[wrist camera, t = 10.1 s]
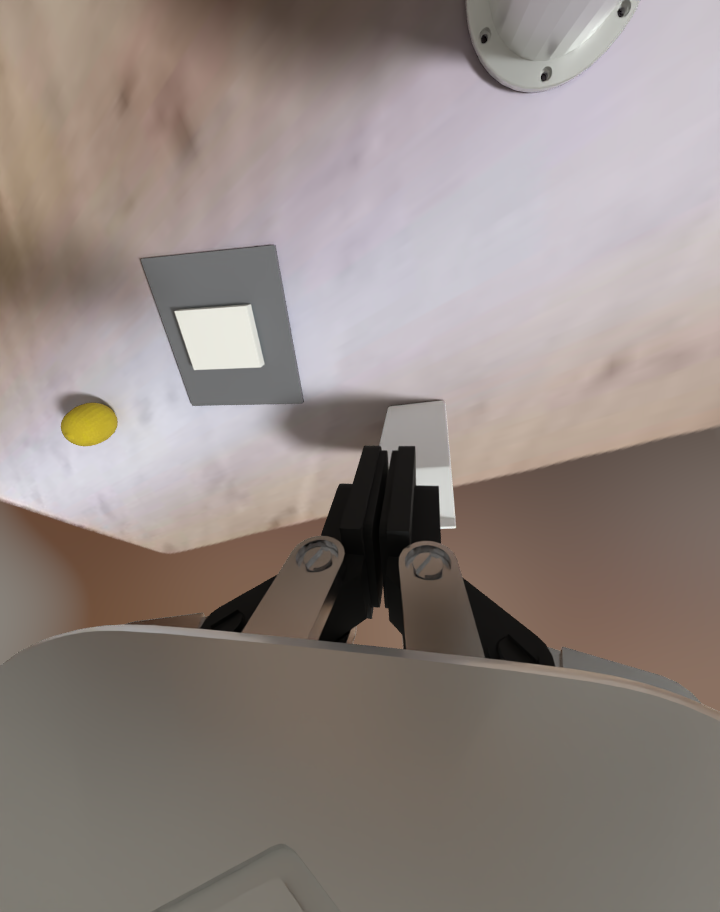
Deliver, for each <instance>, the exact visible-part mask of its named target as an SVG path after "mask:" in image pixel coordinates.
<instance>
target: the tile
mask: <svg viewBox="0 0 720 912" xmlns="http://www.w3.org/2000/svg"><path fill="white" fill-rule="evenodd" d="M174 312H175V315H176V318H177V321H178V324H179V327H180V330H181V333H182V336H183V339H184V342H185V345H186V348H187V351H188V354H189V357H190V360H191V363H192V366H193V369H194V370H208V369H234V368H259V367H262V366H263V365H264V359H263V355H262V351H261V346H260V342H259V338H258V333H257V329H256V324H255V320H254V316H253V311H252V307H251V304H245V305H231V306H217V307H204V308H190V309H179V310H176V311H174Z"/></svg>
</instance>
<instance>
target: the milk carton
mask: <svg viewBox="0 0 720 912" xmlns="http://www.w3.org/2000/svg"><path fill="white" fill-rule="evenodd" d="M379 446H381V448H382V450H387V452H388V466H389V465H390V459H391V453H392V450H398V447H399V446H415V449H416V485H424V486H439V504H440V529H442V528H456V521H455V509H454V498H453V485H452V473H451V461H450V450H449V439H448V427H447V416H446V404H445V401H433V402H424V403H415V404H406V405H398V406H390V407H388V410H387V414H386V419H385V423H384V427H383V432H382V436H381V440H380V445H379Z"/></svg>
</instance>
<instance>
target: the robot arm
mask: <svg viewBox="0 0 720 912" xmlns="http://www.w3.org/2000/svg"><path fill="white" fill-rule="evenodd" d="M639 2H640V0H466V14H467V24H468V29H469V33H470V37H471V41H472V45H473V47H474V49H475V51H476V54H477V56H478V58H479V60H480V62H481V63H482V65H483V66H484V67H485V69H486V70H487V71H488V73H489V74H490V75H491V76H492V77H493V78H495V79H496V80H497V81H498V82H499V83H501V84H502V85H504V86H507V87H509V88H511V89H513V90H516V91H523V92H529V93H531V92H540V91H547V90H550V89H553V88H556V87H559V86H562V85H563V84H565V83H567V82H569V81H571V80H572V79H574V78H576V77H578V76H579V75H580V74H581V73H583V72H584V71H585V70H586V69H588V68H589V67H590V66H591V65H593V64H594V63H595V62H596V61H597V60H598V59H599V58H600V57H601V56H602V55H603V54H604V53H605V52H606V51H607V50H608V49H609V47H610V46H611V45H612V44H613V42H614V41H615V40H616V39H617V38H618V36H619V35H620V34H621V33H622V31H623V30H624V28H625V27H626V25H627V24H628V22H629V21H630V19H631V17H632V16H633V14H634V12H635V11H636V9H637V7H638V5H639ZM618 10H621V11H622V17H621V18H620V17H619V16H618V15H617V11H618ZM483 36H486V37H487V42H486V43H485V44H483V43H482V42H481V38H482V37H483ZM542 74H545V75H546V81H541V75H542ZM382 589H384V601H385V608H389V620H390V622H391V623H392V624H393V625H394V626H395V627H396V628H397V629H398V630H399V632H400V633H401V634H402V639H403V649H395V648H385V647H376V646H366V645H357V644H353V641H354V638H355V634H356V626H357V625H358V624H359V623H361V622H362V621H364V620H365V619H366V618H369V619H372V613H373V607H380V604H381V596H382ZM0 912H720V712H719V711H717V710H714V709H712V708H710V707H707V706H705V705H703V704H701V703H700V701H698V699H697V698H696V697H695V696H694V695H693V694H692V693H691V692H690V691H688V690H687V689H685V688H684V687H683V686H681V685H680V684H679V683H677V682H675V681H673V680H670V679H668V678H666V677H663V676H660V675H657V674H654V673H650V672H647V671H644V670H640V669H637V668H633V667H630V666H626V665H623V664H620V663H617V662H613V661H609V660H606V659H603V658H599V657H596V656H592V655H589V654H586V653H582V652H579V651H576V650H572V649H569V648H565V647H562V649H561V651H559V650H555V649H552V648H549V647H547V646H546V644H545V643H544V642H543V641H542V640H541V639H540V638H538V636H536V635H535V634H534V633H532V632H531V631H530V630H529V629H527V628H526V627H525V626H524V625H522V624H521V623H520V622H519V621H517V620H516V619H515V618H513V617H512V616H511V615H510V614H508V613H507V612H506V611H504V610H503V609H502V608H501V607H499V606H498V605H497V604H496V603H494V602H493V601H492V600H490V599H489V598H488V597H487V596H485V595H484V594H483V593H482V592H480V591H479V590H478V589H476V588H475V587H474V586H473V585H471V584H470V583H469V582H468V581H466V580H465V579H464V578H462V574H461V571H460V567H459V564H458V561H457V558H456V556H455V554H454V553H453V552H452V551H451V550H450V549H449V548H448V547H446V546H444V545H442V544H441V533H440V504H439V486H424V485H416V449H415V446H399V447H398V450H392V453H391V459H390V465H389V466H388V452H387V450H382V448H381V446H364V448H363V451H362V455H361V458H360V461H359V465H358V468H357V471H356V475H355V478H354V481H353V484H339V486H338V488H337V491H336V494H335V497H334V500H333V502H332V505H331V508H330V511H329V514H328V517H327V519H326V522H325V525H324V528H323V531H322V534H321V536H316V537H311V538H308V539H306V540H304V541H303V542H301V543H300V544H298V545H297V546H296V547H295V548H294V550H293V551H292V552H291V554H290V555H289V557H288V559H287V560H286V562H285V564H284V565H283V567H282V569H281V570H280V572H279V573H278V575H276V576H274V577H272V578H271V579H269V580H267V581H265V582H264V583H262V584H260V585H258V586H256V587H255V588H253V589H251V590H249V591H247V592H246V593H244V594H242V595H241V596H239V597H237V598H235V599H234V600H232V601H230V602H228V603H226V604H225V605H223V606H221V607H219V608H218V609H216V610H215V611H214V612H212V613H211V614H210V615H209V616H207V617H205V616H204V614H203V613H197V614H189V615H181V616H174V617H165V618H158V619H150V620H143V621H135V622H131V623H128V624H124V625H108V626H98V627H92V628H85V629H79V630H75V631H72V632H68V633H64V634H60V635H56V636H53V637H50V638H47V639H45V640H42V641H40V642H37V643H35V644H33V645H30V646H29V647H27V648H25V649H23V650H21V651H20V652H18V653H17V654H15V655H14V656H12V657H11V658H10V659H8V660H7V661H5V662H4V663H3V664H2V665H0Z"/></svg>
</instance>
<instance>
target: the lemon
mask: <svg viewBox="0 0 720 912" xmlns="http://www.w3.org/2000/svg"><path fill="white" fill-rule="evenodd" d="M116 428H117V417H116V415H115V413H114V412H113V411H112V410H111V409H110V408H109V407H107V406H105V405H103V404H99V403H86V404H82V405H79V406H77V407H75V408H74V409H72V410H71V411H70V412H68V413H67V414H66V415H65V416H64V418H63V420H62V422H61V431H62V433H63V435H64V437H65V438H66V439H67V440H68V441H70V442H71V443H73V444H76V445H79V446H92V445H96V444H98V443H101V442H103V441H105V440H107V439H108V438H109V437H110V436H111V435H112V434H113V433H114V432H115V430H116Z"/></svg>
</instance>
